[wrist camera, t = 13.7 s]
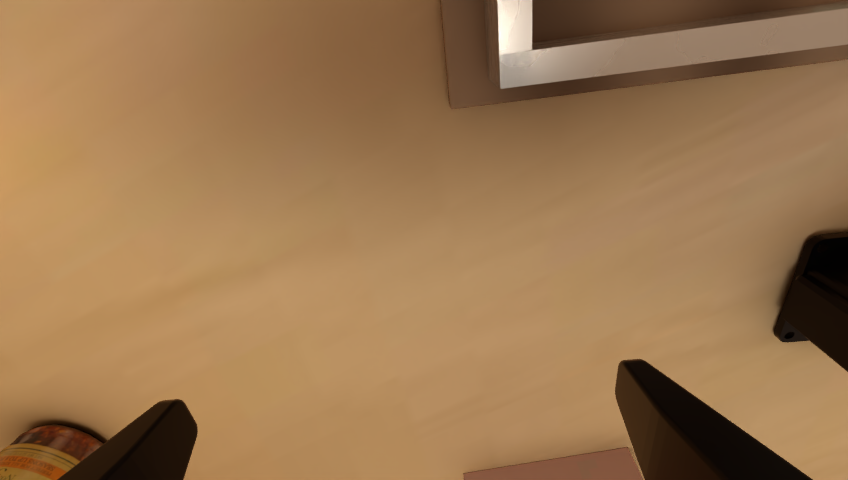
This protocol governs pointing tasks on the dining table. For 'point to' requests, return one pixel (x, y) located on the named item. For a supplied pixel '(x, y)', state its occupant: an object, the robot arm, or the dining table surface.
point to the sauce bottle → (45, 453)
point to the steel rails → (650, 42)
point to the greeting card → (569, 468)
